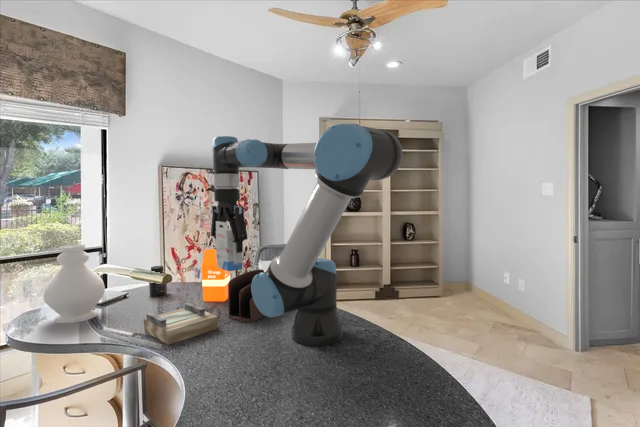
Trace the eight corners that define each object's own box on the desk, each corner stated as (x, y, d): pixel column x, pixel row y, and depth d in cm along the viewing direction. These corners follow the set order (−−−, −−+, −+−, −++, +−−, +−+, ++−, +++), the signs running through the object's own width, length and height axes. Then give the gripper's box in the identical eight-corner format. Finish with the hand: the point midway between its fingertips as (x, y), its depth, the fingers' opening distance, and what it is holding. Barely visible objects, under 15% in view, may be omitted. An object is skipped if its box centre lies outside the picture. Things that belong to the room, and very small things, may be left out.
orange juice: (209, 295, 154) (208, 247, 153) (230, 295, 154) (229, 247, 152) (202, 301, 146) (200, 251, 145) (224, 301, 146) (223, 250, 144)
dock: (217, 328, 117) (217, 309, 117) (168, 344, 105) (167, 324, 105) (192, 317, 128) (191, 300, 127) (144, 331, 116) (143, 312, 116)
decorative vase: (43, 316, 131) (38, 246, 130) (100, 305, 143) (96, 241, 141) (48, 330, 118) (42, 252, 116) (111, 317, 129) (107, 246, 128)
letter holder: (228, 318, 127) (226, 277, 126) (263, 302, 144) (262, 266, 143) (251, 323, 122) (250, 280, 121) (284, 305, 139) (283, 268, 138)
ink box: (243, 269, 114) (241, 221, 113) (227, 271, 111) (226, 222, 110) (230, 265, 120) (229, 219, 119) (216, 267, 117) (214, 220, 116)
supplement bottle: (147, 294, 157) (145, 266, 156) (163, 291, 161) (162, 264, 161) (152, 298, 152) (151, 269, 151) (169, 294, 156) (168, 266, 155)
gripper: (258, 187, 109) (260, 263, 111) (218, 188, 124) (220, 255, 125) (237, 188, 104) (239, 267, 105) (197, 188, 118) (200, 258, 120)
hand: (229, 261), depth 115 cm, fingers closed on ink box, 9 cm apart
